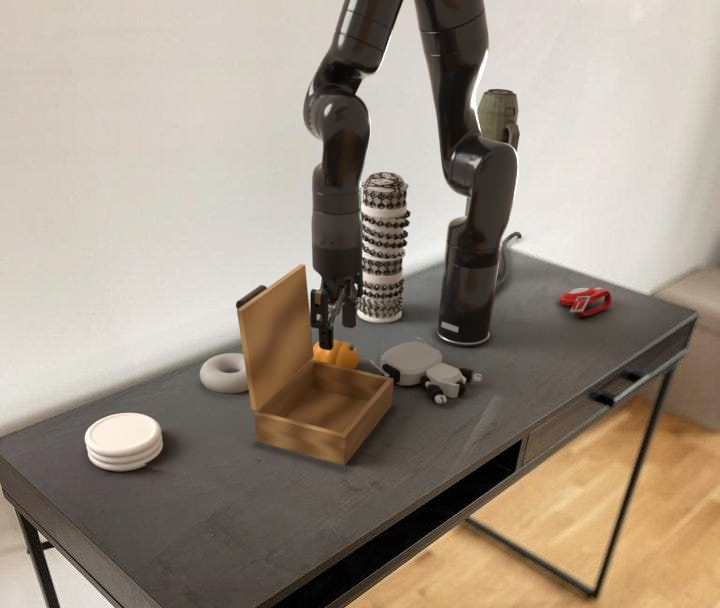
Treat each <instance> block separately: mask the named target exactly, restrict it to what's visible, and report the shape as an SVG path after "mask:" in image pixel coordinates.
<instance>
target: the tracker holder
mask: <svg viewBox="0 0 720 608" xmlns="http://www.w3.org/2000/svg"><path fill="white" fill-rule="evenodd" d="M603 297H604V298H603ZM601 298H603V299H604V300H603V302H602V303H601V304H599V305H597V306H594V307H592V308H590V309H587V310H585V309H586V308H587V305H590V304H592V303H594V302H596V301H598V300H599V299H601ZM558 300H559V304H560V305H562V306H572V307H571V308H570V310H569V313H570V314H573V315H574V316H575V317H589V316H591V315H595V314H597V313H599V312H601V311H604V310H606V309H608V308H609V307H610V306H611V303H612V294H611V292H610V291H608V290H606V289H604V288H603V287H599V286H593V287H588V286H587V287H585V286H583V287H577V288H573V289H571V290H569V291H566V292H565V293H563V294H561V295H560V296H559V298H558Z"/></svg>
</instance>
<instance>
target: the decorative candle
mask: <svg viewBox="0 0 720 608" xmlns="http://www.w3.org/2000/svg"><path fill="white" fill-rule="evenodd" d="M409 186H410V185H409V184H408V183H407V182H405V180H404V178H403V177H402V176H401V175H400V174H397V173H394V172H389V171H378V172H374V173H371V174H369V175H368V177H367V178H366V180H364V181H361V188H363V190H362V191H363V192H362V198H363V199H362V200H361V214H362V223H363V233H362V264H363V296H362V297H361V298H360V297H358V299H359V302H358V305H356V308H357V310H356V315H357V316H358V317H359V318H360V319H361V320H364V321H366V322H370V323H374V324H375V323H376V324H385V323H392V322H396V321H398V320H400V318H402V313H403V312H402V310H403V309H402V308H403V306H404V305H403V304H402V303H403V300H404V297H403V292H404V287H403V285H404V283H405V279H404V277H403V274H404V273H403V272H404V269H403V262H404V261H403V259H404V257H406V253H407V252H406V249H405V247H406V246H408V241H407V240H406V238H408V237H409V232H408V231H407V230H406V229H405V228H407V227H409V226H410V224H411V223H410V220H408V218H410V217H411V214H412V213H411V211H410V210H409V209H408V203H407V198H408V197H407V196H408V189H409Z"/></svg>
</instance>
